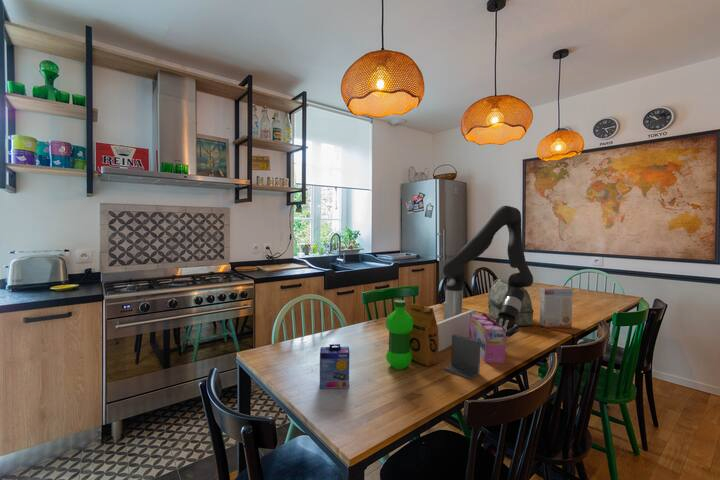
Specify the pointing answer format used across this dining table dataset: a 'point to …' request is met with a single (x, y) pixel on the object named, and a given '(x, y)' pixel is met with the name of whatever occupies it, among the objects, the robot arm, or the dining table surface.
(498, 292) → the lunch bag
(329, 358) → the ink cartridge box
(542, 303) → the cracker box
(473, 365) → the bookend
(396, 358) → the plastic bottle
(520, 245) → the robot arm
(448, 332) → the shelf wall
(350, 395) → the dining table surface
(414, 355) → the coffee package
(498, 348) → the gum box
